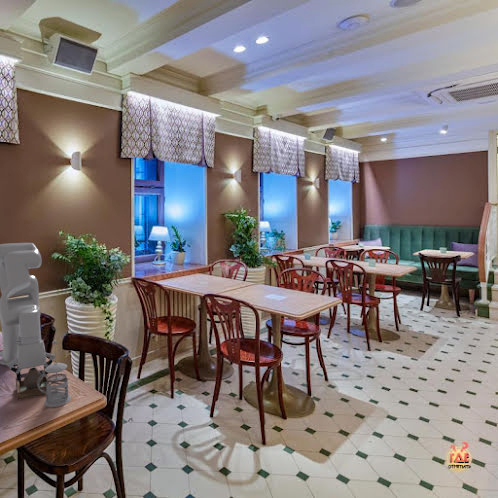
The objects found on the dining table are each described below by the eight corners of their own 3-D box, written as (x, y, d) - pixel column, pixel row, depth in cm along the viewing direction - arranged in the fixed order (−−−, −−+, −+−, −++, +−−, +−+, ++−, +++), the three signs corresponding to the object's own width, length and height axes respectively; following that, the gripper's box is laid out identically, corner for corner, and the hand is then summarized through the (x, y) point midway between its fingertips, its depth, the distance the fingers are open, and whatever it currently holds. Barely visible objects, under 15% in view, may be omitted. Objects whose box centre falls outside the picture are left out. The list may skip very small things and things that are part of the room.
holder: (17, 388, 161) (17, 381, 160) (48, 381, 167) (47, 375, 166) (17, 400, 151) (17, 393, 150) (50, 392, 157) (50, 385, 157)
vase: (34, 393, 155) (33, 373, 154) (20, 391, 156) (19, 371, 155) (46, 385, 162) (46, 366, 161) (32, 383, 163) (31, 364, 162)
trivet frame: (17, 376, 171) (17, 374, 171) (43, 371, 176) (43, 369, 176) (17, 386, 162) (17, 384, 162) (45, 380, 167) (45, 378, 167)
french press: (74, 401, 150) (71, 341, 147) (42, 411, 143) (38, 348, 140) (67, 391, 158) (64, 334, 155) (36, 401, 150) (32, 340, 147)
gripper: (5, 346, 148) (8, 387, 150) (54, 338, 158) (57, 377, 160) (5, 340, 155) (8, 380, 157) (53, 332, 164) (55, 370, 166)
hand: (33, 378), depth 158 cm, fingers open, 9 cm apart
